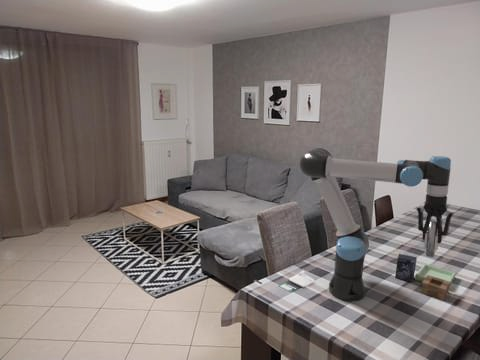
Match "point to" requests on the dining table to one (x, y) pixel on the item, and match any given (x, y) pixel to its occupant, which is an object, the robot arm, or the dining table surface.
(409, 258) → the box
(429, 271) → the tray
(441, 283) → the tan square frame
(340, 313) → the dining table surface
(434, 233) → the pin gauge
